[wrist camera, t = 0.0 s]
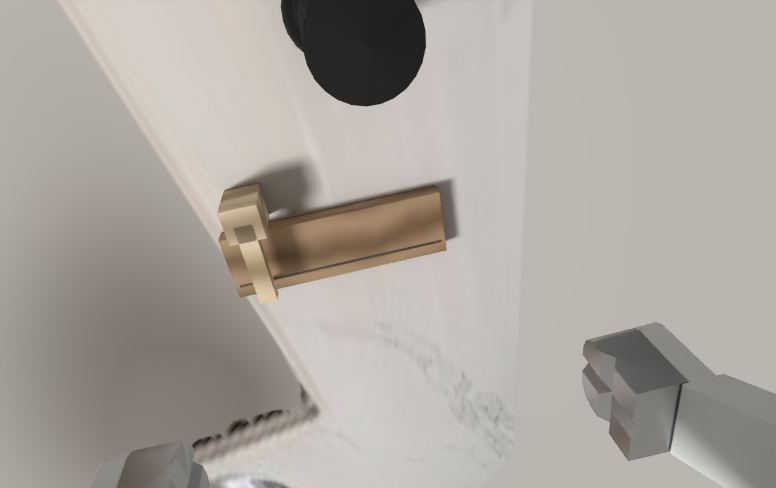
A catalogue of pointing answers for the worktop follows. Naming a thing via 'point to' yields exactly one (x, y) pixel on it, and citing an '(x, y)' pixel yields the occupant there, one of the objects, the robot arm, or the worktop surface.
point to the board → (345, 239)
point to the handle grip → (358, 45)
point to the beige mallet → (249, 234)
